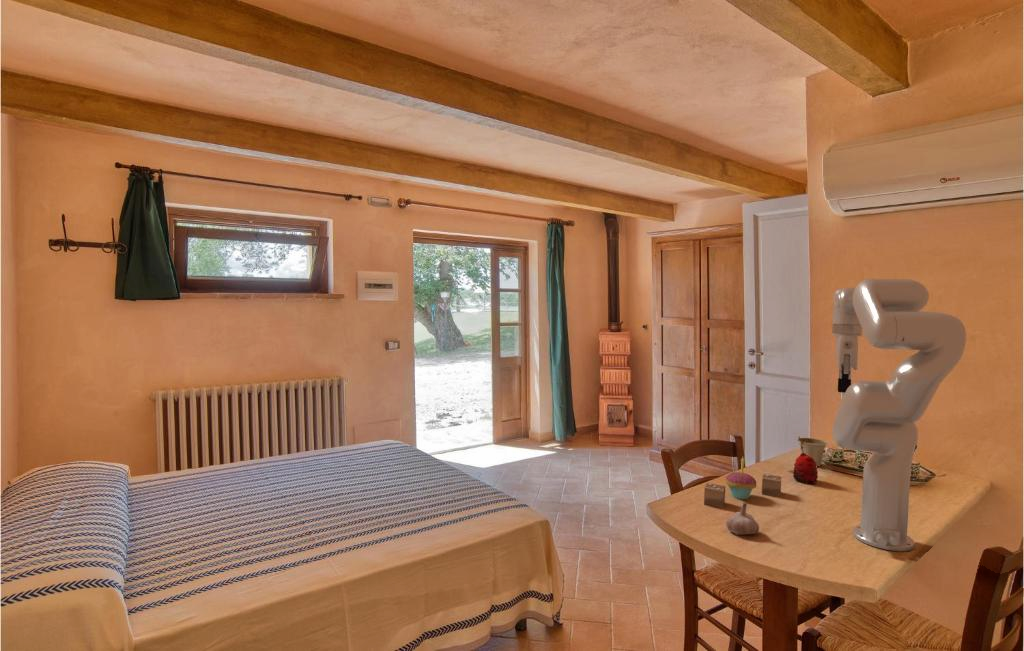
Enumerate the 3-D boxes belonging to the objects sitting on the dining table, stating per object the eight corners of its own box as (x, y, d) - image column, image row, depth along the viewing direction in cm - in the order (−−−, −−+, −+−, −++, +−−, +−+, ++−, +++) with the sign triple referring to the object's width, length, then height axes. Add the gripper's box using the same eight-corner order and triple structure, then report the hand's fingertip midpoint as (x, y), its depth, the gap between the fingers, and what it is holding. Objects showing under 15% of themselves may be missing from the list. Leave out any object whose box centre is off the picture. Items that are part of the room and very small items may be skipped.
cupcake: (727, 489, 168) (729, 451, 168) (757, 494, 164) (759, 455, 163) (722, 498, 161) (724, 458, 160) (753, 504, 157) (755, 463, 156)
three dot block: (722, 508, 153) (723, 490, 153) (704, 504, 155) (704, 487, 155) (724, 502, 157) (725, 485, 157) (706, 499, 160) (707, 482, 160)
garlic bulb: (763, 533, 137) (764, 502, 137) (751, 542, 132) (752, 510, 132) (733, 524, 143) (734, 494, 142) (721, 532, 137) (722, 501, 137)
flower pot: (802, 458, 202) (803, 436, 202) (830, 465, 195) (831, 441, 195) (791, 463, 196) (792, 440, 196) (819, 470, 189) (820, 445, 188)
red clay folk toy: (821, 485, 173) (824, 439, 173) (799, 485, 173) (801, 438, 173) (809, 477, 181) (811, 433, 180) (788, 477, 181) (790, 432, 180)
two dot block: (780, 497, 162) (780, 480, 162) (761, 494, 165) (762, 477, 164) (780, 492, 167) (781, 476, 166) (762, 489, 169) (763, 473, 169)
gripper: (864, 332, 151) (861, 397, 152) (859, 330, 164) (856, 389, 165) (833, 331, 155) (830, 394, 156) (831, 328, 168) (828, 387, 169)
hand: (843, 392), depth 161 cm, fingers closed
